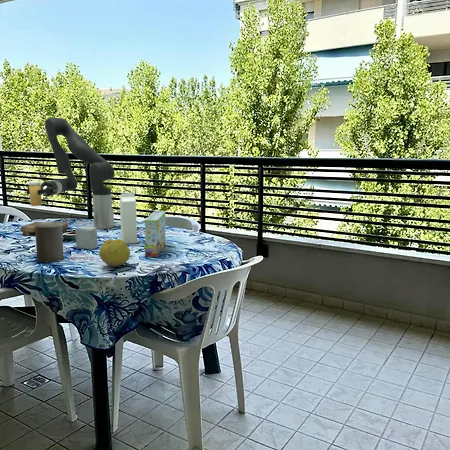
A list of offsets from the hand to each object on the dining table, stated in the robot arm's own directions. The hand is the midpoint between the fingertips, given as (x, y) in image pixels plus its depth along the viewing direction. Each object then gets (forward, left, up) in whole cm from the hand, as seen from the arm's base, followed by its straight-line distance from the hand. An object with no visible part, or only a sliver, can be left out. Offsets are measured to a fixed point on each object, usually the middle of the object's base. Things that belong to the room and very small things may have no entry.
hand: (32, 192), depth 215 cm
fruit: (-58, +46, -20) cm, 77 cm away
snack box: (-66, +21, -20) cm, 72 cm away
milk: (-50, +9, -20) cm, 55 cm away
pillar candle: (-30, +41, -20) cm, 55 cm away
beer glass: (0, -2, -6) cm, 7 cm away
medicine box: (-36, +22, -20) cm, 47 cm away
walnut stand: (-4, -1, -20) cm, 20 cm away
